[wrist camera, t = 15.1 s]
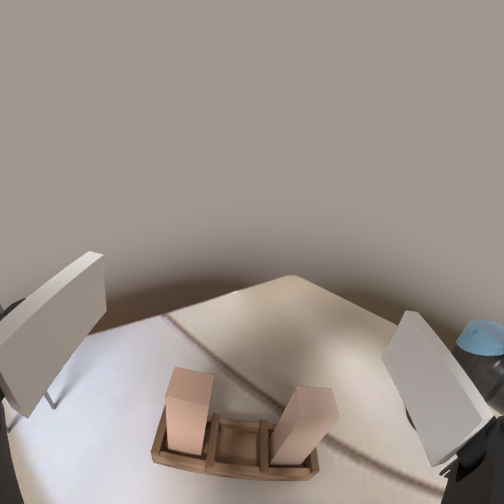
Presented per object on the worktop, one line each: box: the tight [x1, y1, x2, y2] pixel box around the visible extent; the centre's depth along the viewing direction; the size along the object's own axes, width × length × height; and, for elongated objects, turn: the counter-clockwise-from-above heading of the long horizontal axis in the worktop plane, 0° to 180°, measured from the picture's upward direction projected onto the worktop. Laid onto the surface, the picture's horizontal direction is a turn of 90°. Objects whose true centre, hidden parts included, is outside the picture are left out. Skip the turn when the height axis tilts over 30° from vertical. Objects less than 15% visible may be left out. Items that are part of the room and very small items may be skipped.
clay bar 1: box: [165, 367, 214, 458], centre depth 28 cm, size 4×4×14 cm
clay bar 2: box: [268, 386, 339, 466], centre depth 29 cm, size 4×4×14 cm
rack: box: [151, 404, 319, 481], centre depth 30 cm, size 22×9×4 cm, turn 89°
